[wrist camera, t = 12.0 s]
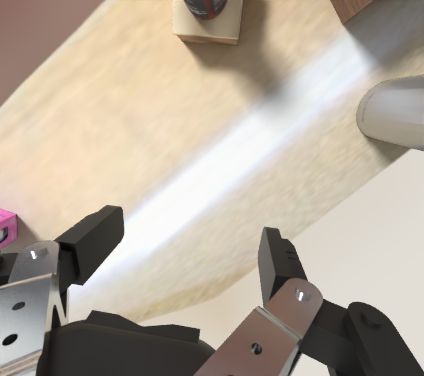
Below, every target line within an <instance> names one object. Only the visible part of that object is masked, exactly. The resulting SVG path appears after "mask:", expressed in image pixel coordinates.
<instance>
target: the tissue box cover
mask: <svg viewBox="0 0 424 376" xmlns="http://www.w3.org/2000/svg"><path fill="white" fill-rule="evenodd" d="M371 1H373V0H331V2H332V4H333V6H334V8H335V10H336V12H337V14H338V16H339V18H340V20H341V22H342V24H343V23H345V22H346V21H347V20H348V19H350V18H351V17H352V16H354V15H355V14H356V13H357V12H359V11H360V10H361V9H363V8H364V7H365V6H366V5H368V4H369V3H370V2H371Z"/></svg>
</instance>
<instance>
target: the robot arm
mask: <svg viewBox="0 0 424 376" xmlns="http://www.w3.org/2000/svg"><path fill="white" fill-rule="evenodd" d="M357 123H358V126H359V128H360V130H361V131H362V132H363V133H364V134H365V135H366V136H368V137H370V138H373V139H377V140H381V141H385V142H389V143H393V144H397V145H401V146H405V147H409V148H413V149H417V150H421V151H424V74H423V75H417V76H410V77H404V78H398V79H392V80H388V81H385V82H382V83H380V84H378V85H376V86H375V87H374V88H372V89H371V90H370V91H369V92H368V93H367V94H366V95H365V96H364V98H363V99H362V101H361V102H360V105H359V107H358V111H357ZM123 236H124V220H123V210H122V208H121V207H119V206H111V205H106V206H105V207H103V208H102V209H101V210H99V211H98V212H96V213H93V214H91V215H88V216H86V217H85V218H84V219H82V220H81V221H80V222H78V223H77V224H75V225H74V227H71V228H70V229H69V230H67V231H66V232H64V233H63V234H62V235H60V236H59V237H58V238H56V239H55V240H54V241H50V240H47V241H40V242H36V243H33V244H30V245H28V246H26V247H25V248H23V249H22V250H21V251H20V252H19V253H8V254H1V251H0V376H291V375H292V373H293V371H294V369H295V367H296V365H297V363H298V361H299V359H300V357H301V356H302V354H305V355H307V356H309V357H311V358H313V359H315V360H317V361H319V362H321V363H323V364H325V365H327V367H328V371H329V374H330V376H424V371H423V370H422V368H421V367H420V365H419V364H418V362H417V360H416V359H415V357H414V356H413V354H412V353H411V351H410V350H409V348H408V347H407V345H406V344H405V342H404V340H403V339H402V337H401V336H400V334H399V332H398V331H397V329H396V328H395V326H394V325H393V323H392V322H391V321H390V319H389V318H388V317H387V316H386V315H385V314H383V313H382V312H380V311H379V310H377V309H376V308H375V307H373V306H371V305H368V304H365V303H362V302H352V303H351V304H350V305H349V306H348V308H347V309H346V308H343V307H341V306H339V305H336V304H334V303H331V302H329V301H327V300H325V299H323V297H322V294H321V293H320V291H319V290H318V288H317V287H316V286H314V285H313V284H312V283H310V282H308V280H307V277H306V275H305V272H304V270H303V267H302V265H301V262H300V260H299V257H298V255H297V252H296V249H295V247H294V245H293V244H292V243H291V242H290V241H289V240H288V239H282V238H281V235H280V232H279V229H278V228H270V227H264V228H263V232H262V236H261V241H260V246H259V251H258V266H259V274H260V282H261V290H262V298H263V307H264V308H261V307H260V306H258V307H256V308H255V309H254V310H253V311H252V312H251V313H250V314H249V315H248V316H247V317H246V318H245V320H244V321H243V322H242V323H241V324H240V325H239V326H238V327H237V328H236V329H235V331H234V332H233V333H232V334H231V335H230V336H229V337H228V338H227V339H226V341H224V343H223V344H222V345H221V346H220V347H219V348H218V349H217V350H215V349H213V348H212V347H211V346H210V345H208V344H207V343H205V342H204V341H202V340H200V339H199V334H200V329H196V328H191V327H185V326H180V325H173V324H172V325H158V326H146V327H143V326H140V325H138V324H136V323H134V322H132V321H130V320H128V319H126V318H124V317H122V316H120V315H117V314H112V313H106V312H100V311H94V310H92V312H91V313H90V315H89V316H88V317H87V319H86V320H80V321H75V322H72V323H68V322H69V289H68V287H69V286H70V285H71V284H76V285H82V286H83V285H84V283H85V282H86V281H87V280H88V279H89V278H90V277H91V275H92V274H93V273H94V272H95V271H96V270H97V268H98V267H99V266H100V265H101V264H102V263H103V261H104V260H105V259H106V258H107V257H108V256H109V254H110V253H111V252H112V251H113V250H114V249H115V248H116V246H117V245H118V244H119V243H120V242H121V240H122V238H123Z"/></svg>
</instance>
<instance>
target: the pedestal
mask: <svg viewBox="0 0 424 376" xmlns="http://www.w3.org/2000/svg"><path fill="white" fill-rule="evenodd" d="M242 5H243V0H228V1H227V4H226V6H225V8H224V9H223V11H222V12H221V13H220V14H219V15H218V16H217V17H215V18H213V19H210V20H202V19H199V18H197V17H195V16H194V15H193V14H192V13H191V12H190V10H189V9H188V7H187V6H186V4H185V2H184V0H173V23H172V34H173V35H177V36H178V37H179V38H180V39H181V41H182V42H196V43H209V44H223V45H237V46H238V39H239V31H240V22H241V13H242Z"/></svg>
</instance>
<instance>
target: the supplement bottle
mask: <svg viewBox="0 0 424 376" xmlns="http://www.w3.org/2000/svg"><path fill="white" fill-rule="evenodd" d="M227 1H228V0H184V2H185V4H186V6H187V7H188V9H189V10H190V12H191V13H192V14H193V15H194V16H195V17H197V18H199V19H202V20H210V19H213V18H215V17H217V16H218V15H219V14H220V13H221V12H222V11H223V9H224V8H225V6H226V4H227Z"/></svg>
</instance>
